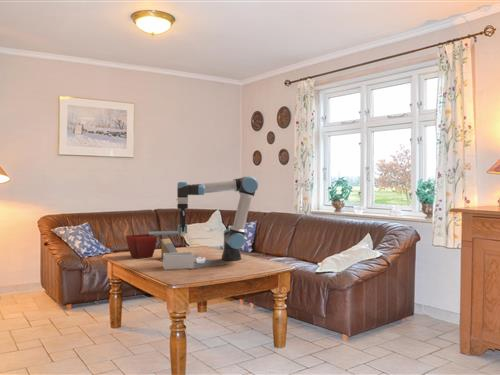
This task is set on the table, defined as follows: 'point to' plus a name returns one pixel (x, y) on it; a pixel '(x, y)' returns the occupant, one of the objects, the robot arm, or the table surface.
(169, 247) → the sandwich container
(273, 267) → the table surface
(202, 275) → the table surface
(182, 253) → the tub
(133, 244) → the plant pot
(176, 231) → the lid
